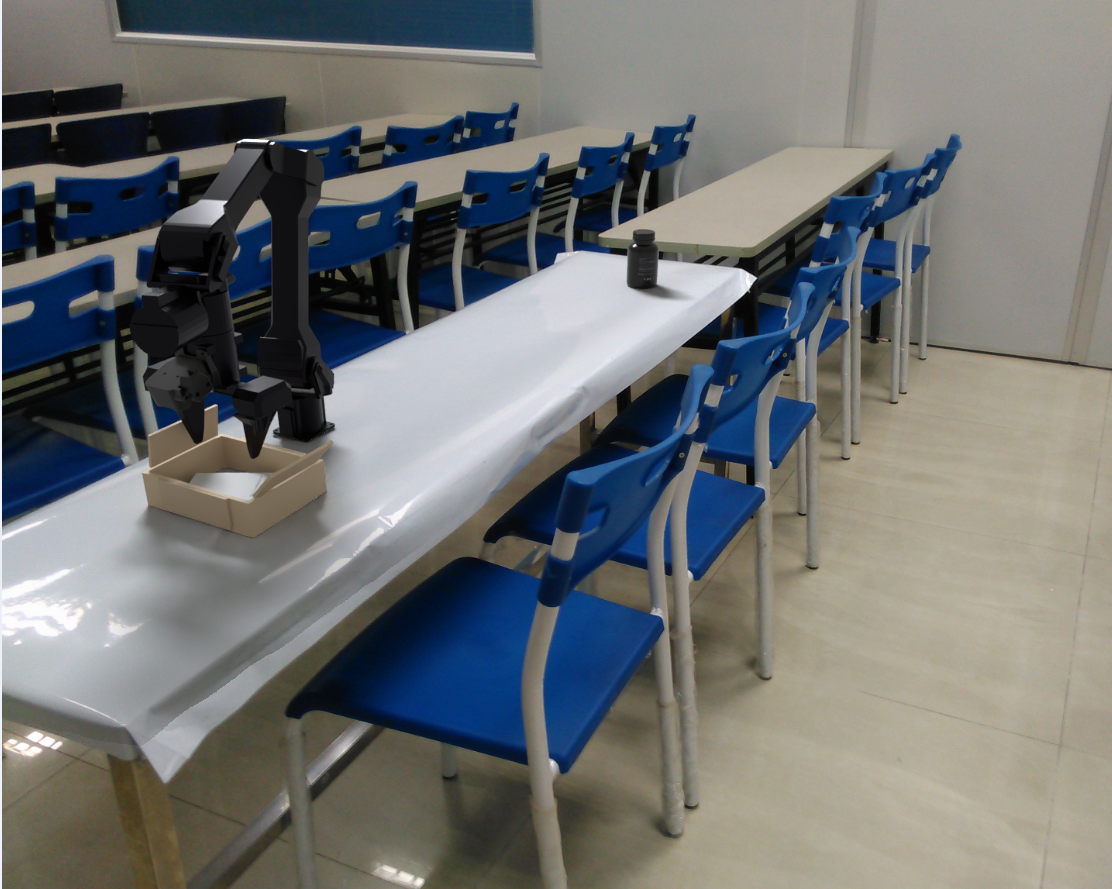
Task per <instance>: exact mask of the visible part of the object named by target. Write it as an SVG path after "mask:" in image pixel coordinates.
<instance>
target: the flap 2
mask: <svg viewBox="0 0 1112 889" xmlns="http://www.w3.org/2000/svg"><path fill="white" fill-rule="evenodd" d="M333 444H334V441H333V440H329V441H328V442H326V443H324V444H322V445H320V446H319V447H317V448H315V449H314V450H312V451H310V452H308V453H307V454H306V455H305V456H303V457H301V458H299V459H298V460H296V461H294V462H292V463H291V464H289V465H287V466H285V467H284V468H282V469H280V470H278V471H277V472H275V473H273V474H271V475H270V476H268V478H267V479H266V480H265V481H264V482H263V483H262V485H261V486H260V487H259V488H258V489H257V491H256V492H255V493H254V494H253V495H252V496H253V498H256V497H258V496H260V495H261V494H263V493H265V492H266V491H268V490H270V489H271V488H273V487H275V486H277V485H278V484H280V483H282V482H283V481H285V480H287V479H288V478H290V477H292V476H294V475H295V474H297V473H299V472H300V471H302V470H304V469H305V468H307V467H309V466H311V465H312V464H314V463H316V462H317V461H318V460H319V459H322V458H321V457H322V456H324V454H325V453H326V452H327V451H328V450H329V448H330V447H331V446H332V445H333Z"/></svg>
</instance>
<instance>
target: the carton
mask: <svg viewBox="0 0 1112 889" xmlns="http://www.w3.org/2000/svg"><path fill="white" fill-rule="evenodd" d="M306 454H308V453H306V452H302V451H298V450H295V449H290V448H288V447H282V446H279V445H275V444H272V443H271V444H270V443H267V442H264V443H263V446H262V449H261V451H260V454H259V456H258V457H257V458H255V459H251V458H250V455H249V452H248V449H247V444H246V438H245V436H241V437H236V436H234V435H233V436H232V435H228V434H225V433H220V434H219V433H218V436H216V437H214V438H212V439H210V440H207V441H205V442H203V443H201V444H199V445H197V446H195V447H193V448H191V449H189V450H187V451H185V452H183V453H181V454H179V455H177V456H175V457H173V458H171V459H169V460H167V461H165V462H163V463H161V464H159V465H157V466H155V467H153V468H151V467H149V469H146V470H144V471H142V472H141V475H142V480H143V484H144V491H145V496H146V502H147V505H148V506H150V507H153V508H157V509H160V510H162V511H166V512H169V513H173V514H176V515H179V516H182V517H185V518H188V519H192V520H195V521H198V522H202V523H204V524H207V525H211V526H214V527H218V528H220V529H224V530H228V531H230V532H232V533H236V534H240V535H243V536H246V537H249V538H251V539H252V538H253V539H255V538H257V537H258V536H259V535H261V534H262V533H264V532H266V531H267V530H268V529H270V528H272V527H273V526H275V525H277V524H278V523H279V522H281V521H283V520H284V519H286V518H288V517H289V516H291V515H292V514H294V513H296V512H297V511H298V510H300V509H301V508H303V507H305V506H307V505H308V504H309V502H310V501H311V502H313V501H315V500H316V499H317V498H316V497H318V496H319V495H321V494H322V495H324V494H325V493H327V492H328V491H327V490H328V488H327V480H326V472H325V471H326V470H325V460H324V459H322V458H320V459H319V460H318V461H317V462H316V463H314V464H312V465H311V466H309V467H307V468H305V469H304V470H302V471H300V472H299V473H297V474H295V475H294V476H292V477H290V478H288V479H287V480H285V481H283V482H282V483H280V484H278V485H277V486H275V487H273V488H271V489H270V490H268V491H266V492H265V493H263V494H261V495H260V496H258V497H256V498H252V499H251V500H249V501H248V500H244V499H241V498H237V497H234V496H231V495H227V494H224V493H220V492H217V491H213V490H210V489H207V488H203V487H200V486H196V485H193V484H190V481H191V480H192V478H193V477H194V475H195V474H196V473H218V471H220V470H222V469H224V468H231V469H234V470H238V471H241V472H244V473H275V472H277V471H278V470H280V469H282V468H284V467H285V466H287V465H289V464H291V463H292V462H294V461H296V460H298V459H299V458H301V457H303V456H305V455H306ZM326 491H327V492H326ZM324 492H325V493H324ZM323 493H324V494H323ZM322 495H321V496H322ZM319 497H320V496H319ZM319 497H318V498H319ZM315 498H316V499H315ZM312 500H313V501H312ZM311 502H310V503H311Z"/></svg>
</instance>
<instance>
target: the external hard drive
mask: <svg viewBox="0 0 1112 889" xmlns="http://www.w3.org/2000/svg"><path fill="white" fill-rule="evenodd" d="M271 474H273V473H248V472H215V473H196V474H195V475H194V477H193V478H192V480H191V481H190V484H193V485H196V486H200V487H203V488H207V489H210V490H213V491H217V492H220V493H224V494H227V495H231V496H234V497H237V498H241V499H244V500H248V501H249V500H251V499H252V498H253V496H252V495H253V494H254V493H255V492H256V491H257V489H258V488H259V487H260V486H261V485H262V483H263V482H264V481H265V480H266V479H267V478H268V476H270V475H271Z"/></svg>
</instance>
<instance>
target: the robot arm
mask: <svg viewBox="0 0 1112 889" xmlns="http://www.w3.org/2000/svg"><path fill="white" fill-rule="evenodd" d="M324 179H325V167H324V162H323V161H322V160H321V159H320V158H318V157H317V155H316V153H315V151H313V150H311V149H302V148H301V149H298V148H297V149H296V148H292V147H289V146H285V145H283V144H282V143H279V142H275V141H274V140H273V139H253V138H243V139H241V140H238V141H237V142H236V143H235V145H234V148H233V154H232V156H231V157H230V158H229V159H228V161H227V163H226V164H225V166H223V168H222V169H221V171H220V172H219V174H217V176H216V178H215V179H214V180H213V181H212V183H211V184H210V185H209V187H208V189H206V191H205V193H204V194H203V195H202V197H201V198H200V199H199V200H198V201H197V202H196V203H194V204H191V205H189V206H187V207H184V208H182V209H180V210H177V211H176V212H175V213H174V214H172V215H171V216H170V217H169V218H168V219H167V220H166V221H165V222H163V224H162V225H161V226H160V228H159V231H158V233H157V235H156V236H157V237H156V240H155V244H154V247H153V248H154V249H153V252H152V257H151V263H150V266H149V271H148V275H147V280H146V287H147V289H156V290H154V291H148V292H146V293H144V294H142V295H141V298H140V299H141V303H142V304H141V305H142V306H141V307H139V308H138V309H136V310H135V311H134V313H132V316H131V319H130V324H129V332H130V335H131V338H132V341H133V342H134V343H135V344H136V346H137V347H138V348H139V349H140V350H141V351H142V352H143V353H145V354H147V356H148V355H149V356H151V357H154V358H158V359H159V358H160V359H161V358H167V357H169V356H171V355H173V354H174V357H173V356H172V357H170V358H167V359H165V360H162V361H159V362H157V363H155V364H152V365H149V366H146V368H145V371H144V373H143V375H142V380H143V381H142V382H143V386H144V391H146V392H149V394H150V395H151V398H152V400H154V403H155V404H156V406H157V407H160V408H168V409H171V410H173V411H175V412H176V414H177V416H178V417H179V419H180V420H181V421H182V423H183V424H184V426H185V428H186V430H187V431H188V433H189V435H190V437H191V438H192V440H193V442H194V443H195V444H199V443H201V442H202V441H203V436H204V418H205V409H206V397H207V396H208V395H209V394H210V393H214V394H219V395H223V396H227V397H231V402H232V403H231V404H232V407H233V408H234V410H236V412H235V413H233V414H232V416H233V417H234V418H235V419H237V420H238V421H239V422H241V423H242V427H243V433H244V437H245V438H246V444H247V449H248V452H249V455H250V458H251V459H255V458H257V457H258V456H259V454H260V451H261V449H262V446H263V443H265V440H266V437H267V434H268V432H269V429H270V427H271V424H272V422H273V420H274V418H275V416H276V415H277V421H278V427H277V428H274V429H273V430H272V434H273V435H277V436H280V437H284V438H288V439H292V440H296V441H299V442H303V443H308V441H309V442H310V440H311V439H312V440H314V439H316V438H318V437H319V435H320V436H321V435H323V434H325V433H326V431H327V430H329V429H330V430H332V429H334V428H335V427H336V424H335V422H331V421H327V414H326V408H325V406H326V405H325V397H327V396H332V395H333V390H334V386H335V373H334V371H332V368H330V367H329V366H328V365H327V363H326V362H325V361H324V360H323V359H322V352H321V351H322V350H321V343H320V341H319V340H318V338H317V337H316V335H315V333H314V332H313V329H312V328H311V326H310V324H309V323H310V322H309V218H310V216H311V214H312V213H314V210H315V209H316V207H317V205H318V204H319V203H320V201H321V198H322V186H323V183H324V181H325V180H324ZM258 197H259V198H260V200H261V201H262V203H263V205H264V207H265V209H267V212H268V213H269V215H270V222H271V223H270V225H271V227H270V228H271V229H270V232H271V244H270V245H271V248H270V249H271V325H270V327H269V329H268V330H267V332H266V333H265V335H264V336H263V337H262V336H260V337H259V338H258V340H257V343H256V346H257V361H256V370H257V375H258V377H257V378H255V379H252V380H250V381H247V382H243V381H241V378H242V377H244V376H246V375H249V374H248V367H247V366H246V365H242V364H240V363H239V356H238V349H237V345H239V344H242V343H244V336H243V333H240V332H235V326H234V320H233V313H232V306H231V299H230V291H229V285H231V284H233V283H234V282H235V281H236V276H235V275H234V274H233V273H231V272H230V271H229V268H230V266H231V264H232V262H233V260H234V257H235V255H236V252H237V250H238V249H239V248H238V247H239V242H238V239H237V234H236V233H237V229H238V227H239V225H240V224H241V222H242V221H243V219H244V218H245V217H246V215H247V214H248V212H249V211H250V209H251V207H253V206H252V205H254V203H255V201H256V200H257V199H258ZM169 271H171V272H169ZM172 272H178V273H172ZM179 272H180V273H179ZM181 272H183V273H181ZM190 273H194V274H190ZM195 273H196V274H195ZM197 273H198V274H197ZM333 427H334V428H333ZM331 428H332V429H331ZM330 430H329V431H330ZM324 432H325V433H324ZM327 432H328V431H327ZM317 436H318V437H317ZM315 437H316V438H315ZM313 438H314V439H313ZM312 440H311V441H312Z"/></svg>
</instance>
